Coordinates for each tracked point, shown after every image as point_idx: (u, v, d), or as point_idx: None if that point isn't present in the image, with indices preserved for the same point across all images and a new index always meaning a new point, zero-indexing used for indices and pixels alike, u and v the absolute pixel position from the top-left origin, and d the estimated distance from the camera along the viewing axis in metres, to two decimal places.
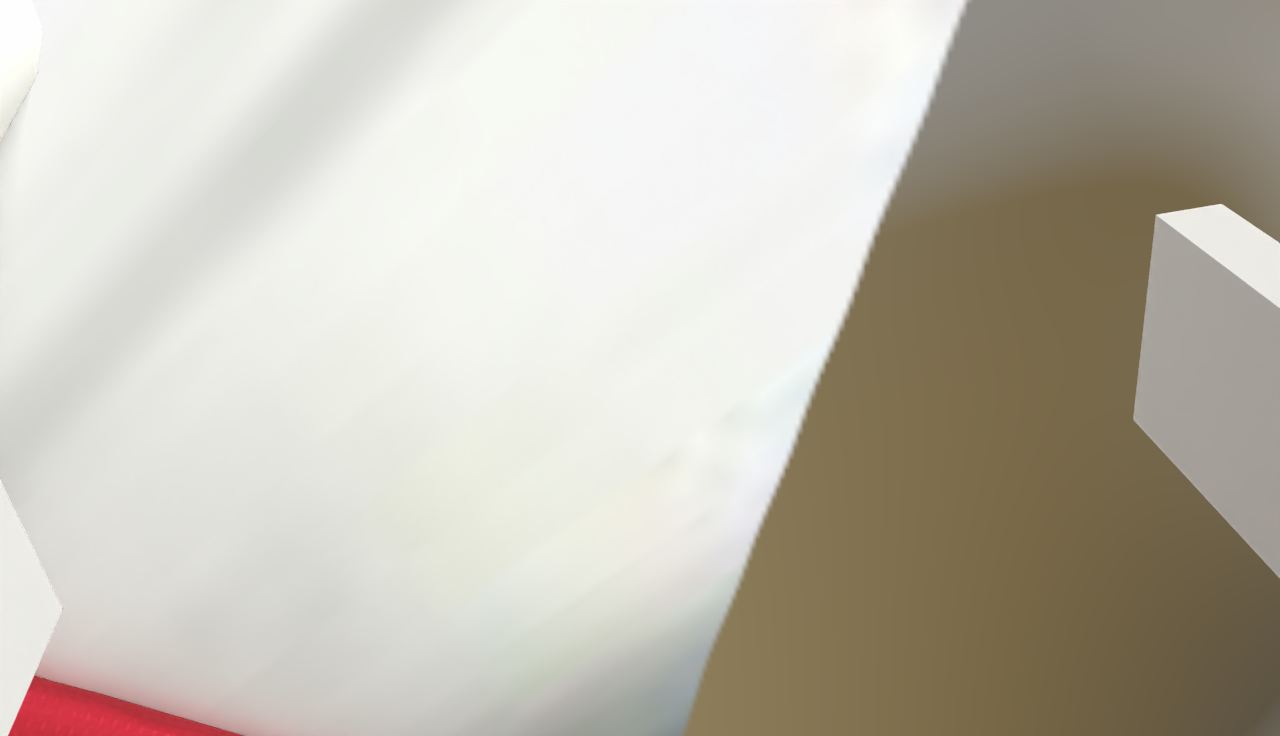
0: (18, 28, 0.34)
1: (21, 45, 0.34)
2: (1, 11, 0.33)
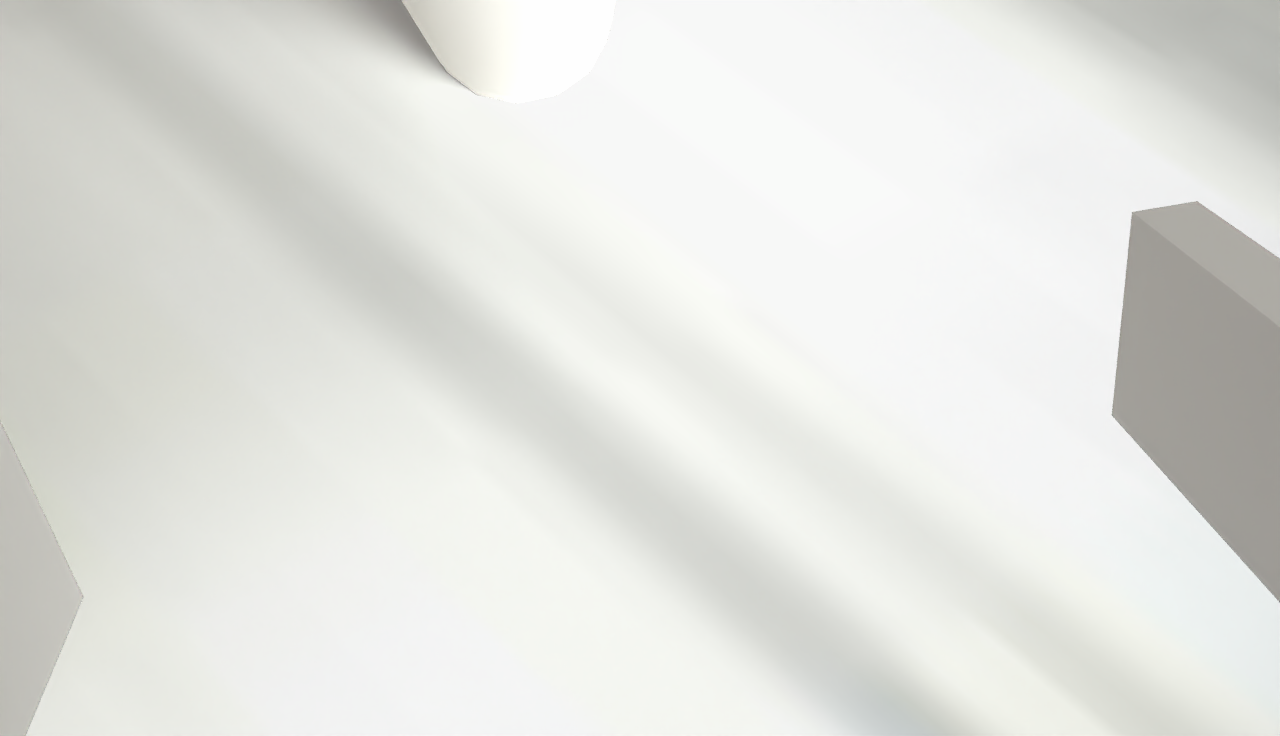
0: (529, 72, 0.38)
1: (515, 70, 0.38)
2: (548, 56, 0.37)
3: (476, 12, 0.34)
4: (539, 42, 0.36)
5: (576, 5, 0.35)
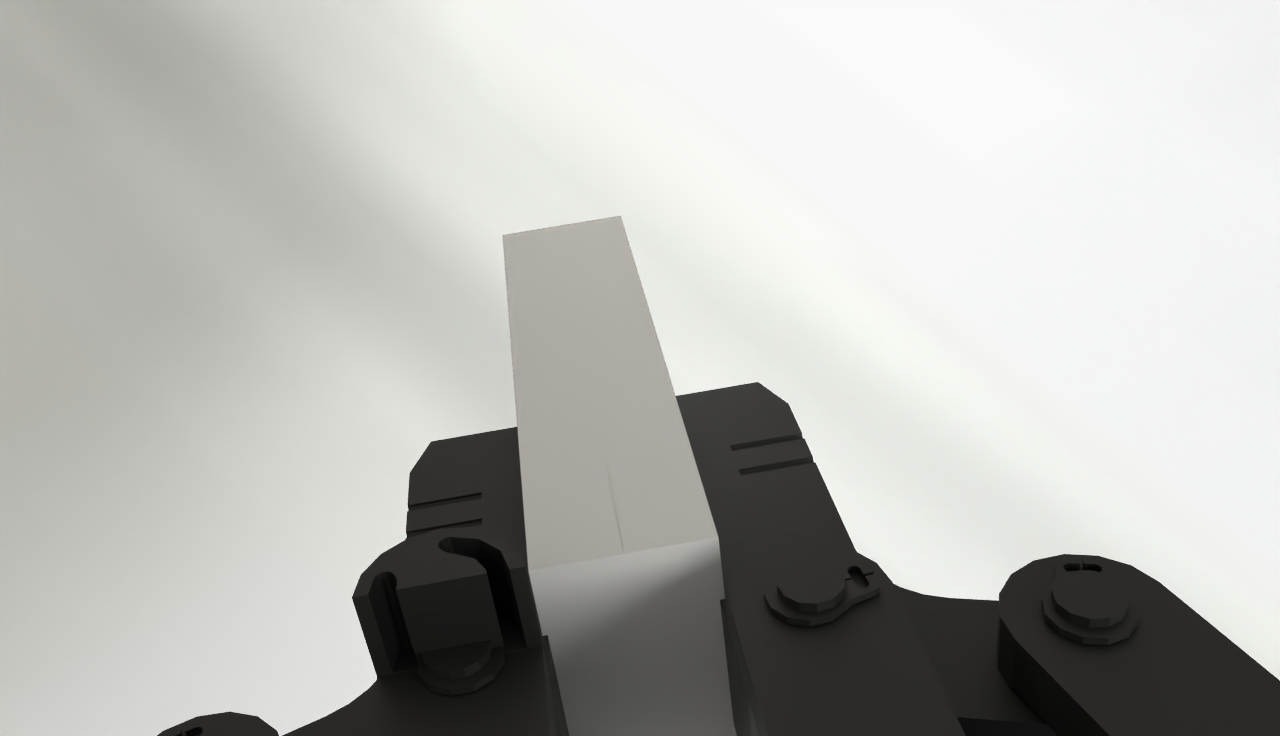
0: None
1: None
2: None
3: None
4: None
5: None
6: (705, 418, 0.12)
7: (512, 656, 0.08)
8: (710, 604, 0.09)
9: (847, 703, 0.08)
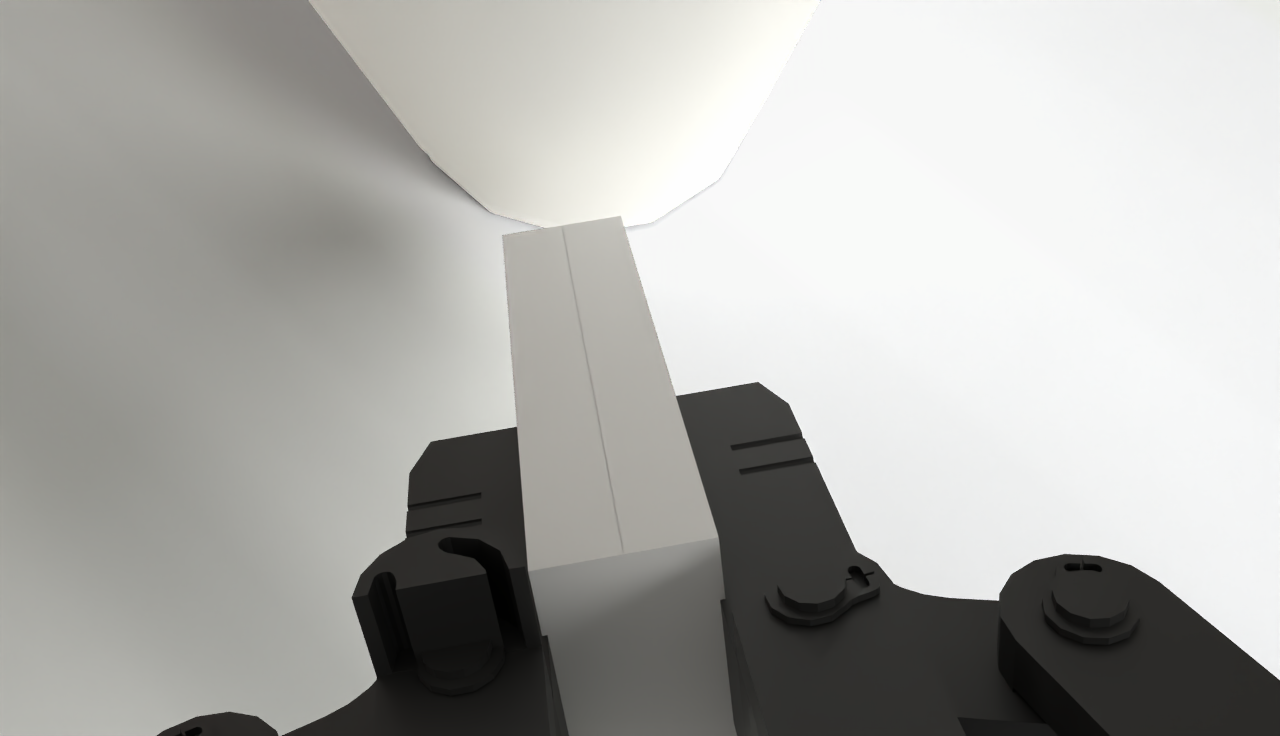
0: (606, 188, 0.18)
1: (578, 185, 0.17)
2: (656, 161, 0.17)
3: (499, 69, 0.13)
4: (642, 136, 0.15)
5: (744, 59, 0.14)
6: (705, 418, 0.12)
7: (512, 656, 0.08)
8: (710, 603, 0.09)
9: (847, 703, 0.08)
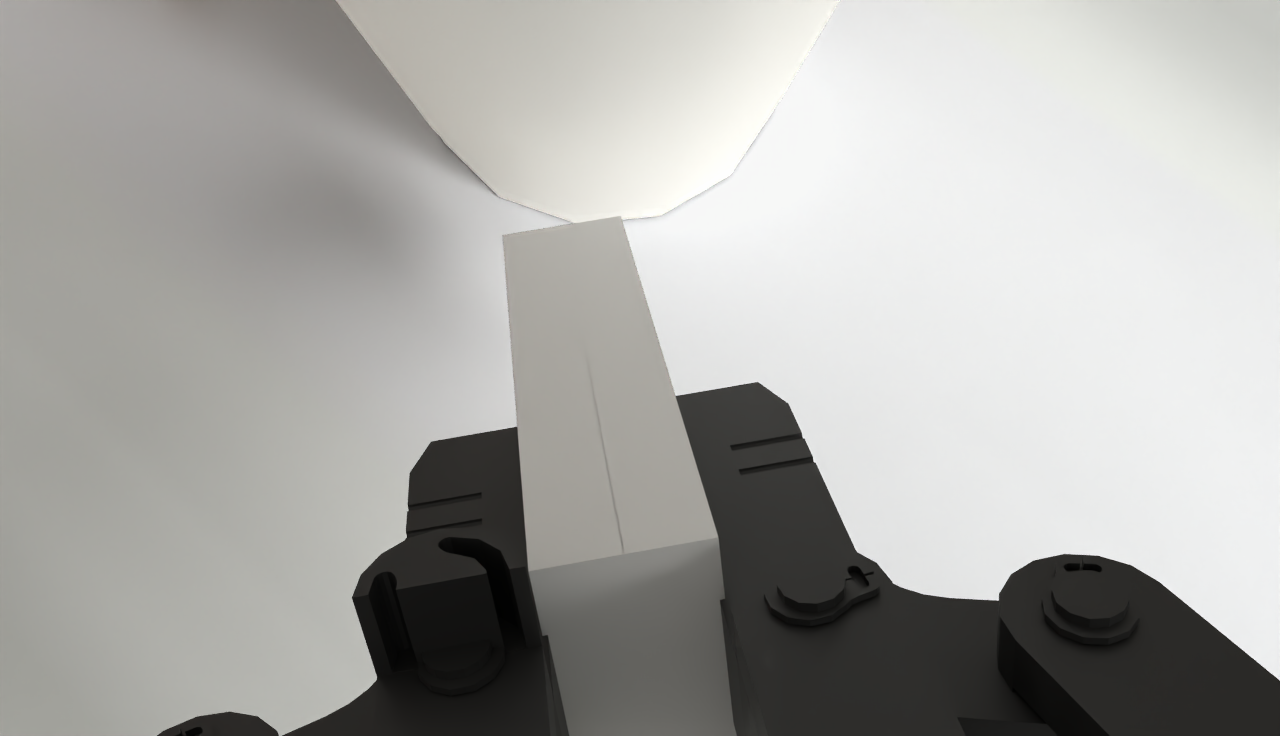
0: (612, 180, 0.17)
1: (583, 177, 0.17)
2: (661, 157, 0.17)
3: (500, 60, 0.13)
4: (647, 132, 0.15)
5: (752, 61, 0.14)
6: (705, 418, 0.12)
7: (512, 656, 0.08)
8: (710, 604, 0.09)
9: (847, 703, 0.08)
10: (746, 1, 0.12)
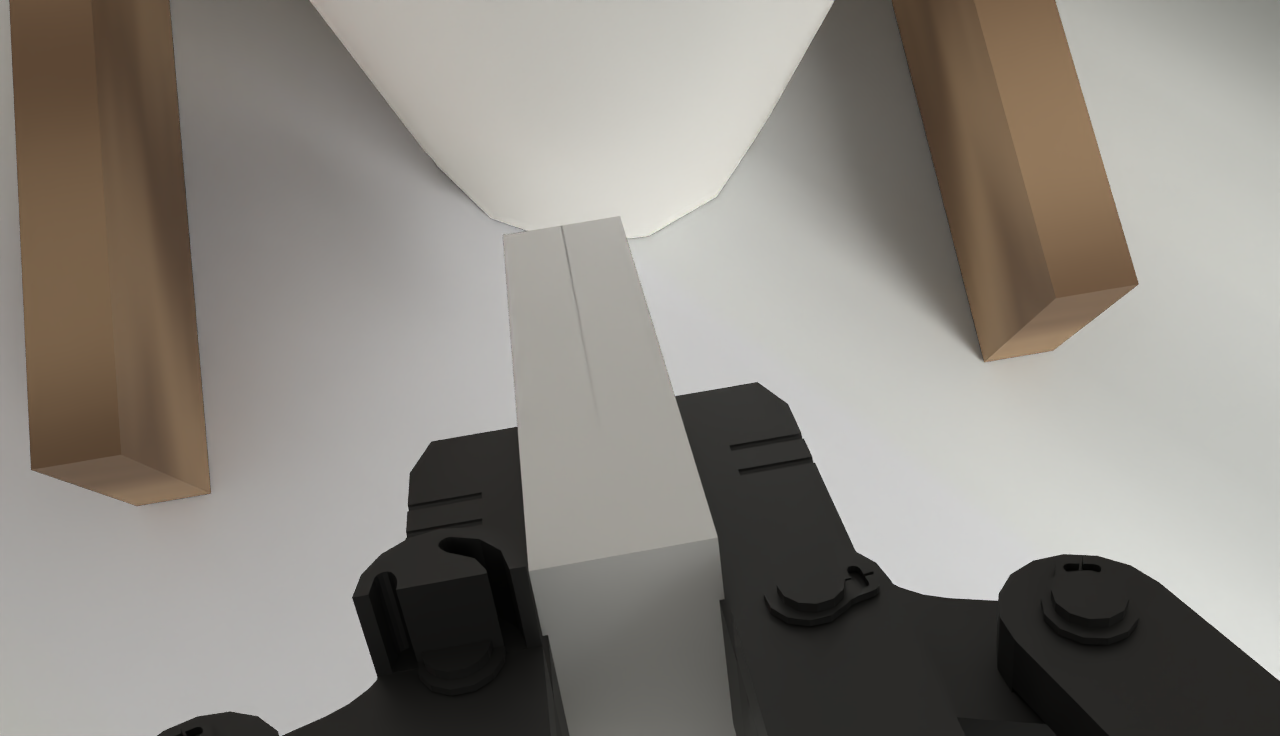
0: (599, 201, 0.18)
1: (571, 197, 0.18)
2: (647, 178, 0.17)
3: (488, 84, 0.13)
4: (632, 154, 0.16)
5: (732, 85, 0.15)
6: (704, 418, 0.12)
7: (512, 656, 0.08)
8: (710, 604, 0.09)
9: (847, 703, 0.08)
10: (723, 27, 0.12)
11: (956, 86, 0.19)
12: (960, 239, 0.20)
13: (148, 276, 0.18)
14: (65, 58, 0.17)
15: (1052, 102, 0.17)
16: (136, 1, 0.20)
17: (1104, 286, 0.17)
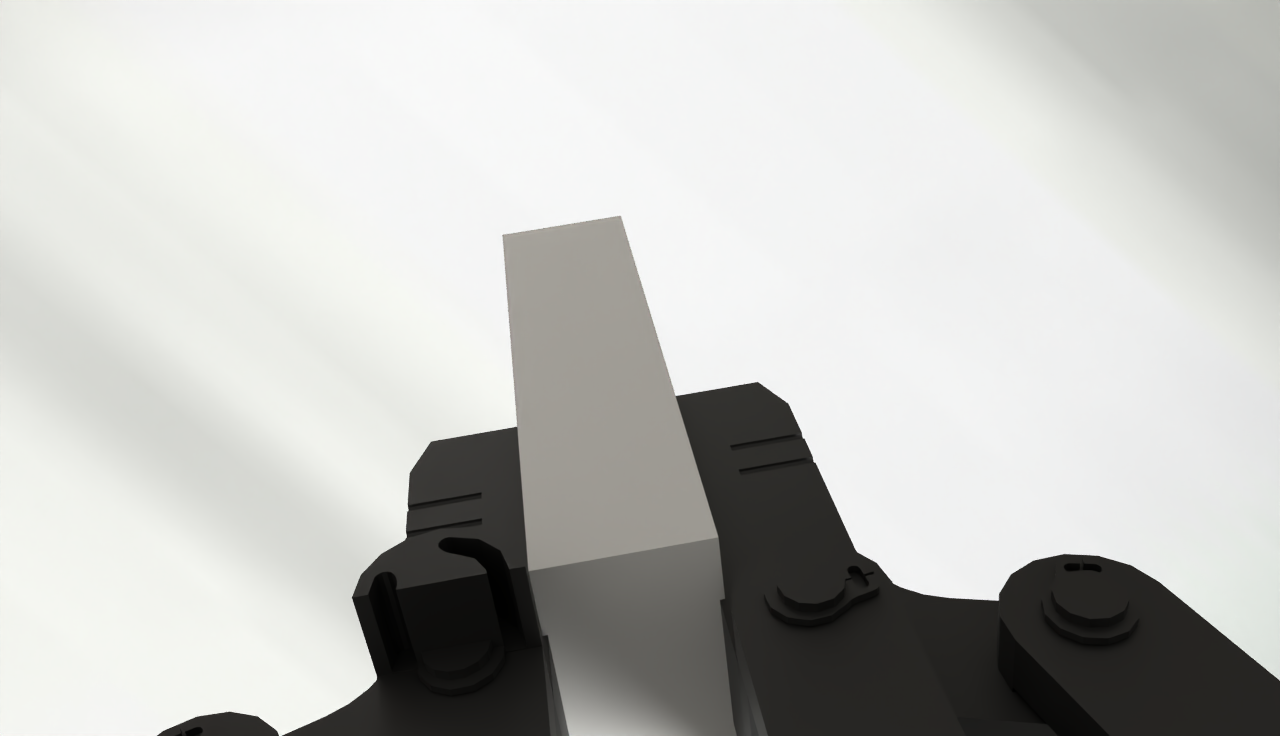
0: None
1: None
2: None
3: None
4: None
5: None
6: (705, 418, 0.12)
7: (512, 656, 0.08)
8: (711, 604, 0.09)
9: (847, 703, 0.08)
10: None
11: None
12: None
13: None
14: None
15: None
16: None
17: None
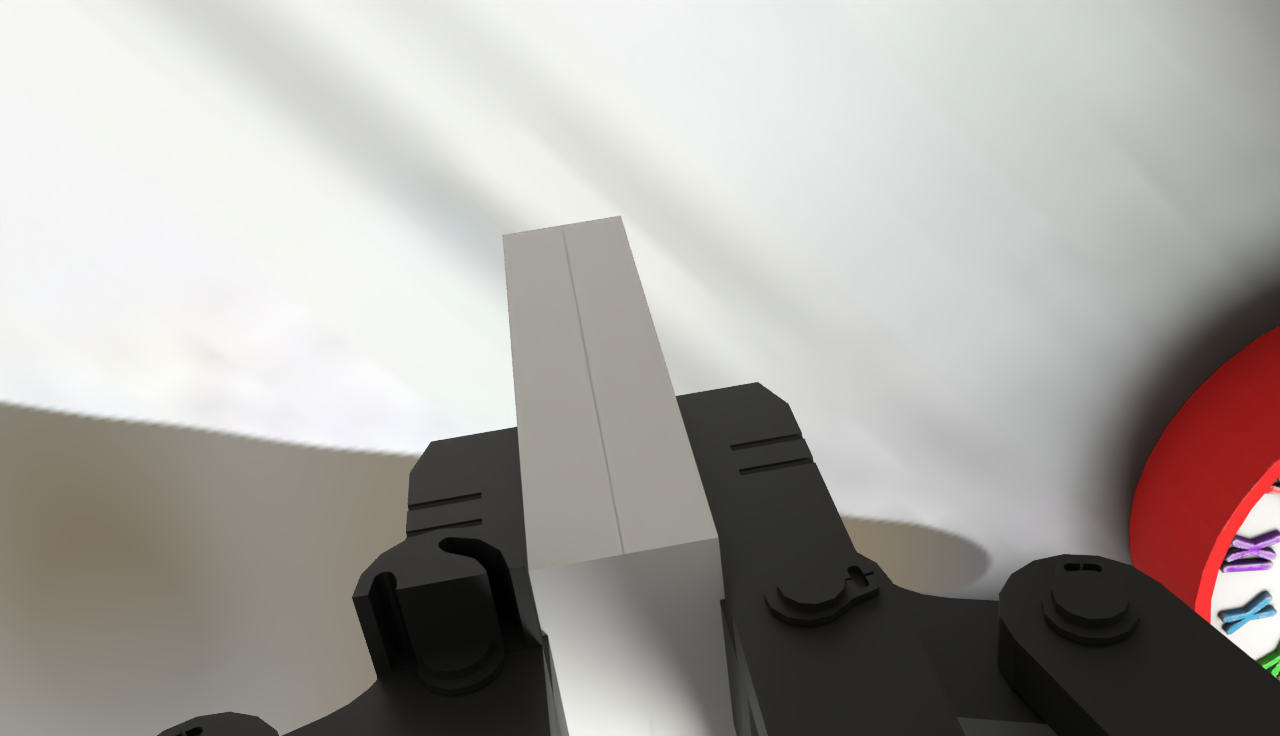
0: None
1: None
2: None
3: None
4: None
5: None
6: (705, 418, 0.12)
7: (512, 656, 0.08)
8: (710, 604, 0.09)
9: (847, 703, 0.08)
10: None
11: None
12: None
13: None
14: None
15: None
16: None
17: None
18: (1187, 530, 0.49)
